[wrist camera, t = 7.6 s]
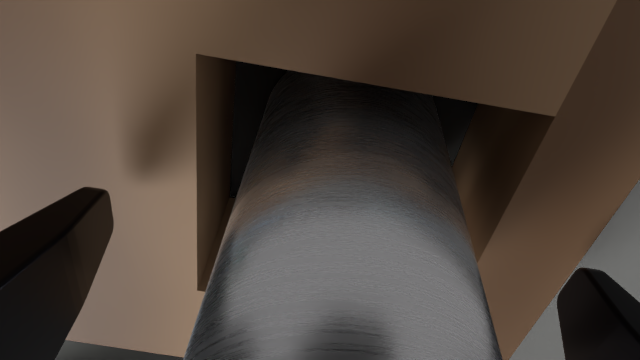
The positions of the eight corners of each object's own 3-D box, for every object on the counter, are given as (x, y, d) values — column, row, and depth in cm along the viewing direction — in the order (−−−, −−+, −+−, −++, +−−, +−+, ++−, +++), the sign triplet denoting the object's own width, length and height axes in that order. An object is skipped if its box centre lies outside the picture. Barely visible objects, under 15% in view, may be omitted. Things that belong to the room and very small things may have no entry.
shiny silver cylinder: (462, 65, 11) (598, 392, 5) (410, 207, 14) (452, 535, 7) (273, 30, 11) (152, 325, 5) (258, 181, 14) (169, 497, 7)
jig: (669, -96, 9) (810, -58, 6) (458, 301, 16) (478, 401, 13) (-90, -245, 8) (-315, -277, 6) (45, 236, 16) (-23, 326, 13)
